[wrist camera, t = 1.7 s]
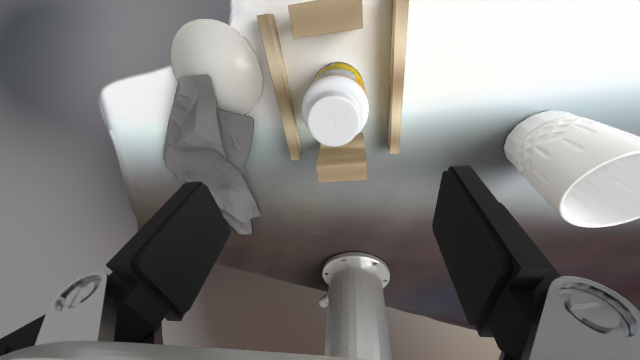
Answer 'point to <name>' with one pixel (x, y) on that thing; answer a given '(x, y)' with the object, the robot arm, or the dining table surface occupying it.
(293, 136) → the wooden slatted rack
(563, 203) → the white cup
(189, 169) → the cloth
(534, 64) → the dining table surface
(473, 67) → the dining table surface
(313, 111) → the supplement bottle
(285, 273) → the dining table surface
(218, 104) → the coaster
